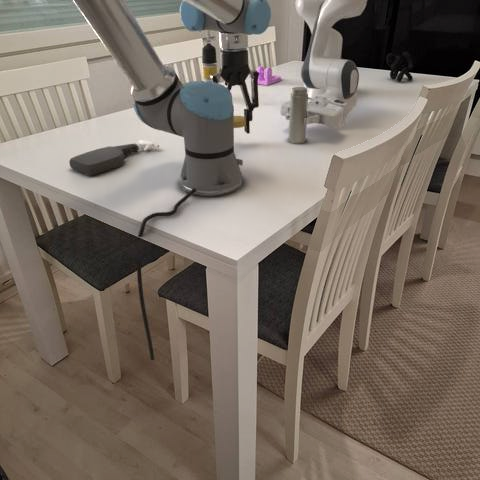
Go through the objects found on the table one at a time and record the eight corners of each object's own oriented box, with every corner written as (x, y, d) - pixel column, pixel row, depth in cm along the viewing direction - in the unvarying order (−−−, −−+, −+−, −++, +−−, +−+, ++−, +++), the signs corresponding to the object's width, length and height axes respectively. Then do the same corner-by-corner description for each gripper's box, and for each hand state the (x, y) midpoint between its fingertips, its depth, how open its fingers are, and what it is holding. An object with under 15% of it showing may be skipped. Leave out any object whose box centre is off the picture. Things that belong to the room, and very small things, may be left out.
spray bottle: (67, 168, 120) (139, 144, 136) (91, 178, 114) (163, 151, 130) (65, 157, 118) (137, 134, 134) (89, 167, 112) (162, 142, 128)
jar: (305, 138, 137) (308, 86, 129) (305, 143, 133) (308, 90, 125) (289, 137, 138) (291, 86, 130) (288, 143, 134) (290, 90, 126)
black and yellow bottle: (220, 99, 177) (217, 15, 161) (206, 100, 176) (202, 16, 160) (215, 96, 182) (212, 14, 166) (202, 97, 180) (197, 14, 164)
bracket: (267, 85, 196) (267, 68, 192) (256, 83, 199) (256, 67, 195) (282, 79, 205) (283, 63, 201) (272, 78, 208) (273, 62, 204)
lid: (229, 129, 127) (228, 122, 126) (224, 122, 132) (224, 116, 131) (248, 126, 128) (248, 120, 127) (243, 120, 133) (243, 114, 132)
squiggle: (400, 92, 202) (376, 71, 205) (417, 76, 202) (392, 56, 205) (405, 81, 191) (380, 59, 194) (423, 64, 191) (397, 42, 194)
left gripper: (203, 54, 114) (209, 141, 126) (271, 48, 118) (270, 133, 130) (196, 49, 120) (203, 133, 132) (262, 44, 124) (262, 125, 136)
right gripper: (296, 93, 144) (269, 102, 136) (352, 104, 133) (326, 114, 124) (295, 112, 148) (268, 122, 139) (349, 125, 136) (324, 136, 127)
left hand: (236, 133), depth 131 cm, fingers closed on lid, 6 cm apart
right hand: (296, 119), depth 131 cm, fingers closed on jar, 5 cm apart
